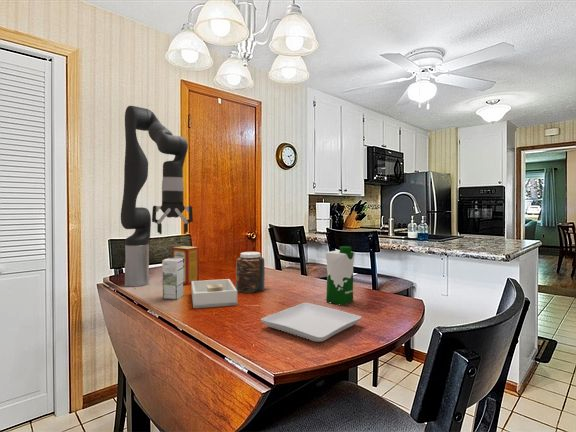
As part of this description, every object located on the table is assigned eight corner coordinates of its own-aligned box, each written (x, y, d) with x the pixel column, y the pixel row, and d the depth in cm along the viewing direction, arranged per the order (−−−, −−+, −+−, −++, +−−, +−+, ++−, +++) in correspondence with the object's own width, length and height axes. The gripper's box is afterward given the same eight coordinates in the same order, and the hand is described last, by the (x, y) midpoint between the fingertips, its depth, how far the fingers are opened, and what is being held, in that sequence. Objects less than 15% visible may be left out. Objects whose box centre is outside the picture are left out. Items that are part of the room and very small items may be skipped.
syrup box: (183, 295, 131) (183, 257, 131) (177, 300, 125) (176, 260, 125) (169, 295, 132) (168, 257, 131) (162, 299, 126) (161, 259, 126)
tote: (193, 308, 115) (193, 293, 115) (191, 294, 134) (191, 281, 134) (237, 304, 120) (237, 290, 119) (229, 291, 138) (229, 278, 138)
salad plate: (321, 350, 83) (321, 336, 83) (258, 329, 97) (258, 317, 97) (363, 327, 99) (363, 315, 99) (304, 312, 113) (305, 301, 113)
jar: (267, 292, 137) (267, 254, 137) (237, 294, 134) (237, 255, 134) (262, 285, 149) (262, 250, 148) (234, 287, 146) (234, 251, 145)
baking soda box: (172, 282, 154) (172, 246, 153) (184, 279, 159) (184, 245, 159) (187, 285, 149) (187, 248, 148) (198, 282, 154) (198, 246, 154)
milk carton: (344, 307, 118) (345, 248, 117) (322, 302, 123) (322, 246, 123) (356, 301, 124) (357, 246, 124) (335, 297, 130) (335, 244, 130)
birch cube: (207, 302, 119) (207, 288, 119) (206, 298, 124) (206, 284, 123) (222, 301, 120) (222, 287, 120) (220, 297, 125) (220, 284, 125)
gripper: (192, 190, 133) (192, 232, 134) (152, 189, 129) (152, 233, 129) (193, 190, 126) (193, 234, 127) (151, 189, 122) (151, 235, 122)
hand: (172, 233), depth 128 cm, fingers open, 8 cm apart
